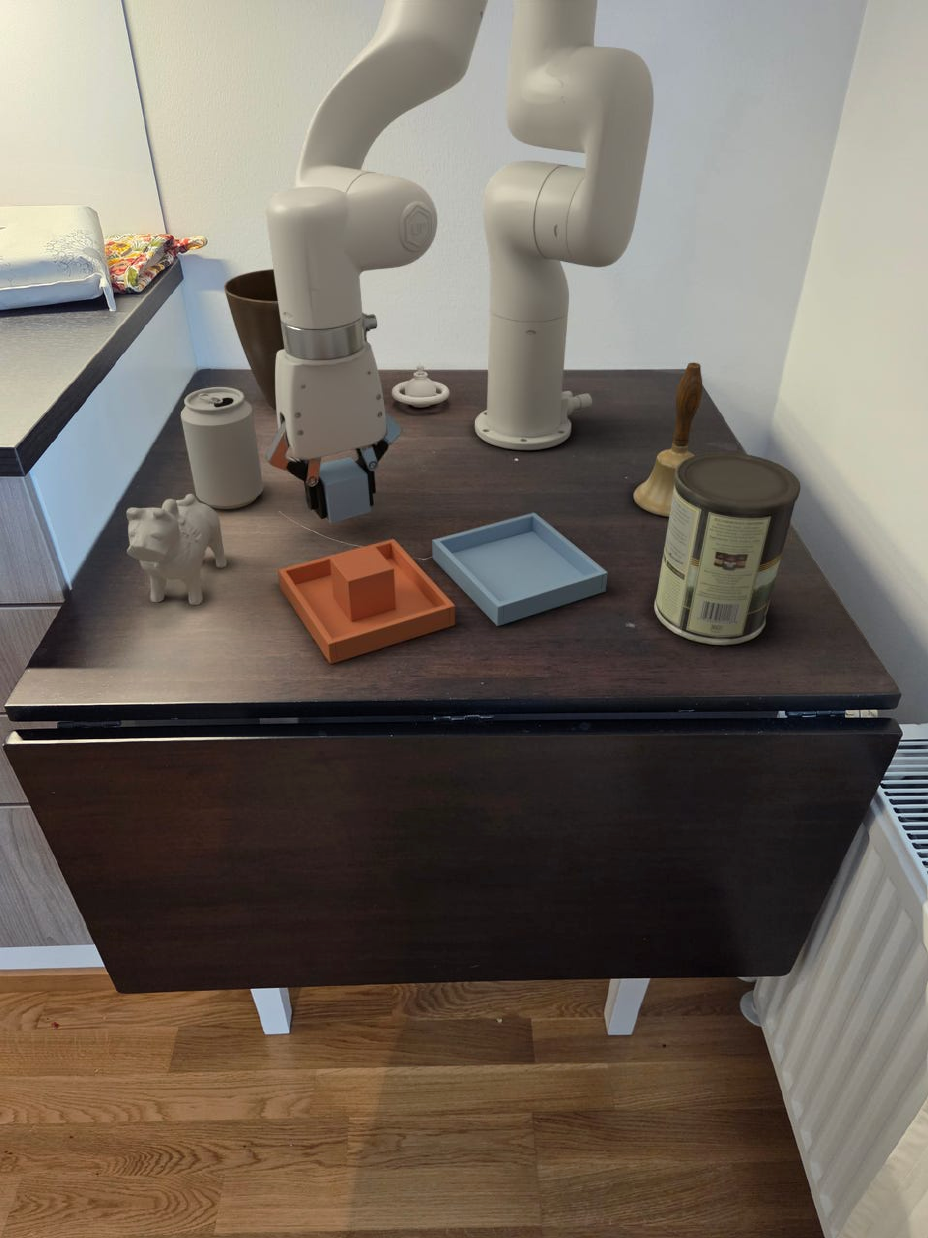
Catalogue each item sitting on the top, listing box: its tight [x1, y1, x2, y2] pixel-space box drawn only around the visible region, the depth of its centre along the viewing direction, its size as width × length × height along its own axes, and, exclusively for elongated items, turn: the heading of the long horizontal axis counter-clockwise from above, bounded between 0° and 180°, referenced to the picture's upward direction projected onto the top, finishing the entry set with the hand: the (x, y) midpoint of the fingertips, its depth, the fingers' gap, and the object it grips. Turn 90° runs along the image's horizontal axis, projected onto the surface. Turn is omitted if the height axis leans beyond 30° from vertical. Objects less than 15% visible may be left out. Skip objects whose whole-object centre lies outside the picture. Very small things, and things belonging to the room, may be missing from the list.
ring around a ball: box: [391, 364, 451, 408], centre depth 120 cm, size 8×6×8 cm
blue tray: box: [431, 512, 609, 627], centre depth 86 cm, size 12×13×2 cm
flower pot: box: [223, 268, 285, 410], centre depth 117 cm, size 15×15×16 cm
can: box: [180, 386, 264, 510], centre depth 96 cm, size 8×8×12 cm
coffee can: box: [653, 451, 801, 646], centre depth 78 cm, size 10×10×14 cm
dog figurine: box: [126, 493, 227, 606], centre depth 81 cm, size 5×13×11 cm, turn 173°
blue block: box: [319, 456, 371, 524], centre depth 91 cm, size 4×4×4 cm
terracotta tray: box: [277, 538, 456, 665], centre depth 82 cm, size 12×13×2 cm
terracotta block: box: [330, 546, 396, 622], centre depth 81 cm, size 4×4×4 cm
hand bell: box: [633, 362, 704, 518], centre depth 95 cm, size 8×8×16 cm
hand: (342, 505), depth 92 cm, fingers closed on blue block, 4 cm apart
